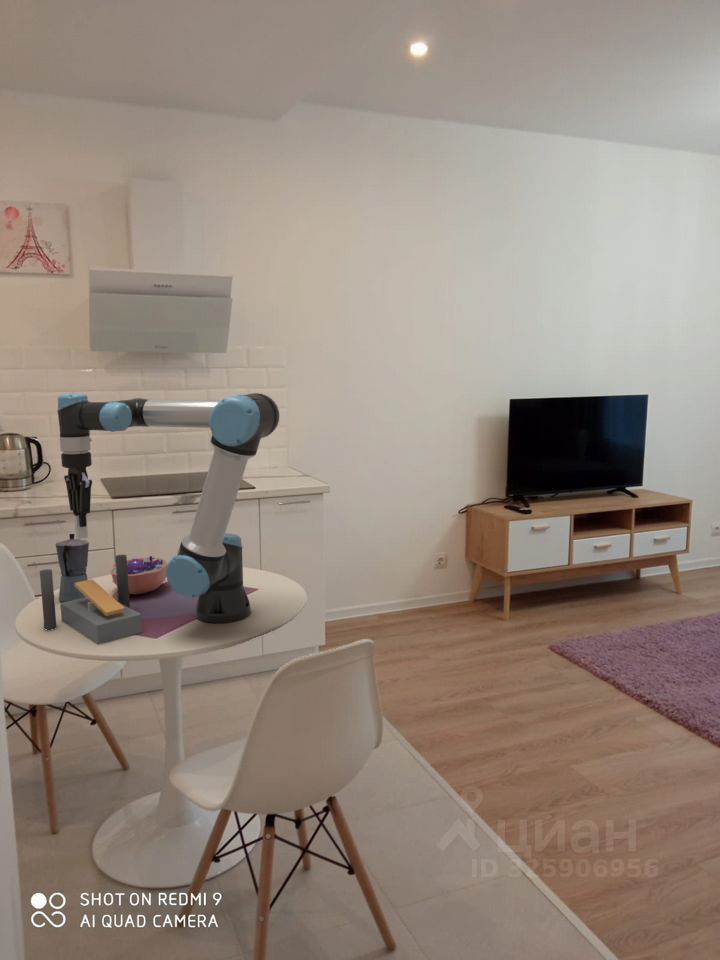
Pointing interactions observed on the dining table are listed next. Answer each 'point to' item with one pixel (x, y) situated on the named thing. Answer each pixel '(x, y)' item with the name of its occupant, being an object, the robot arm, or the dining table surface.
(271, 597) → the dining table surface
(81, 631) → the block
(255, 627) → the dining table surface
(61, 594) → the moka pot
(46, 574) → the post
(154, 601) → the dining table surface
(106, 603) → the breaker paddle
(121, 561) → the post
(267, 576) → the dining table surface
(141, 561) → the cell model
